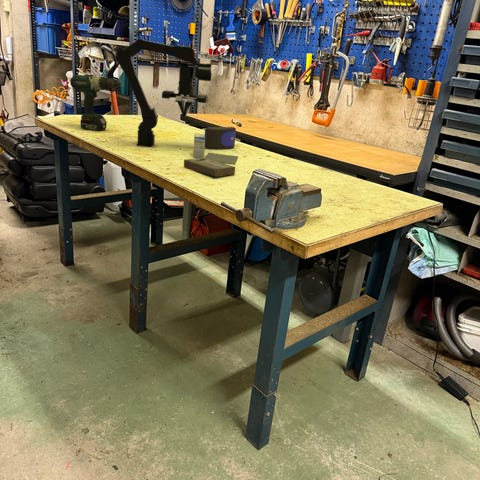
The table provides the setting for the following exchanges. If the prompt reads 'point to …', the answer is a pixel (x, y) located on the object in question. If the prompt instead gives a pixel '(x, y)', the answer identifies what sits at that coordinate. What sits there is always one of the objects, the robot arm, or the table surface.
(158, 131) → the table surface
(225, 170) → the box
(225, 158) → the mat
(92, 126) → the power drill
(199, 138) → the medicine box
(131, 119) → the table surface
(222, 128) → the leaning round-cornered charcoal block
